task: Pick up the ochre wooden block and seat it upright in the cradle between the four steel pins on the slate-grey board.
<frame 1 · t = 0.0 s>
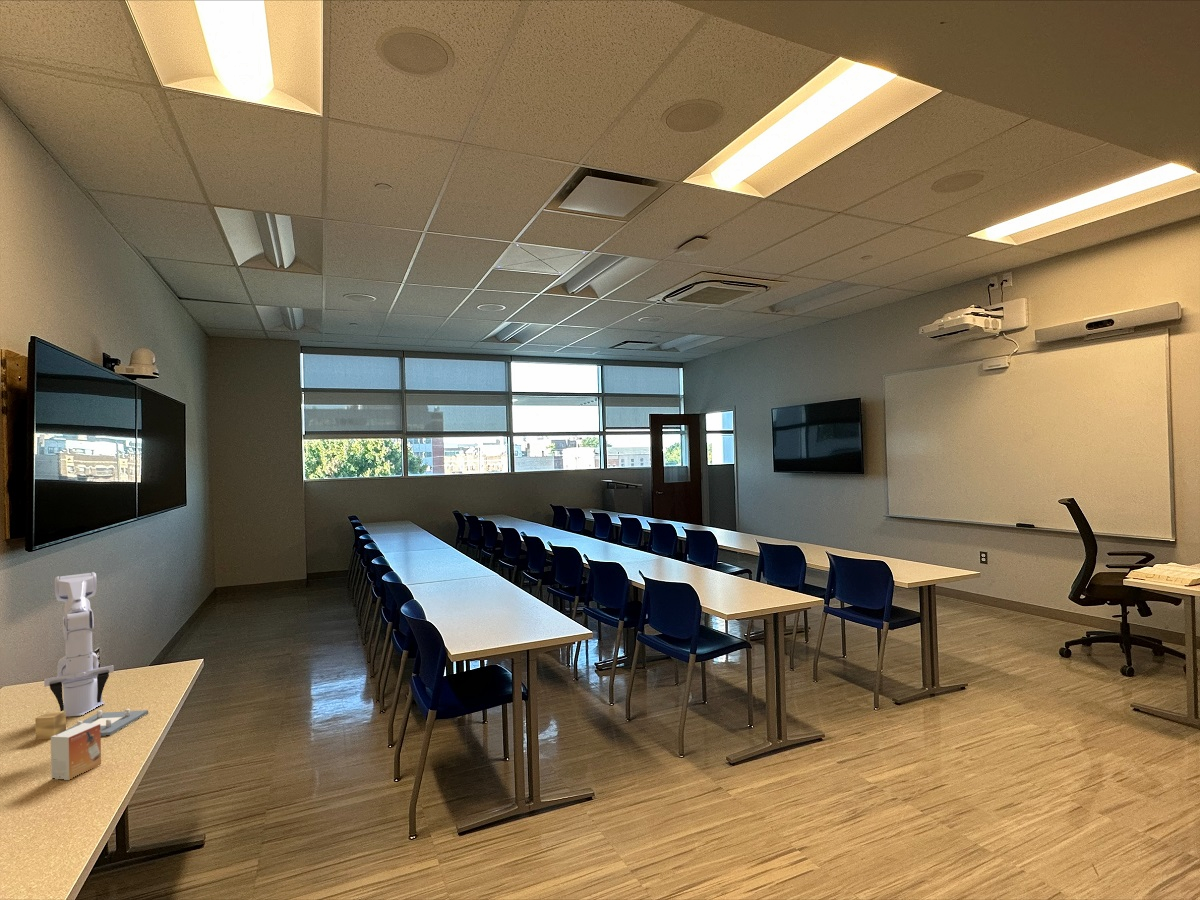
hand: (80, 706, 165), 11 cm above the table, tool pointing down, fingers open, 7 cm apart
pin board: (104, 725, 177), on the table
ochre block: (51, 735, 171), on the table
small box: (77, 772, 149), on the table
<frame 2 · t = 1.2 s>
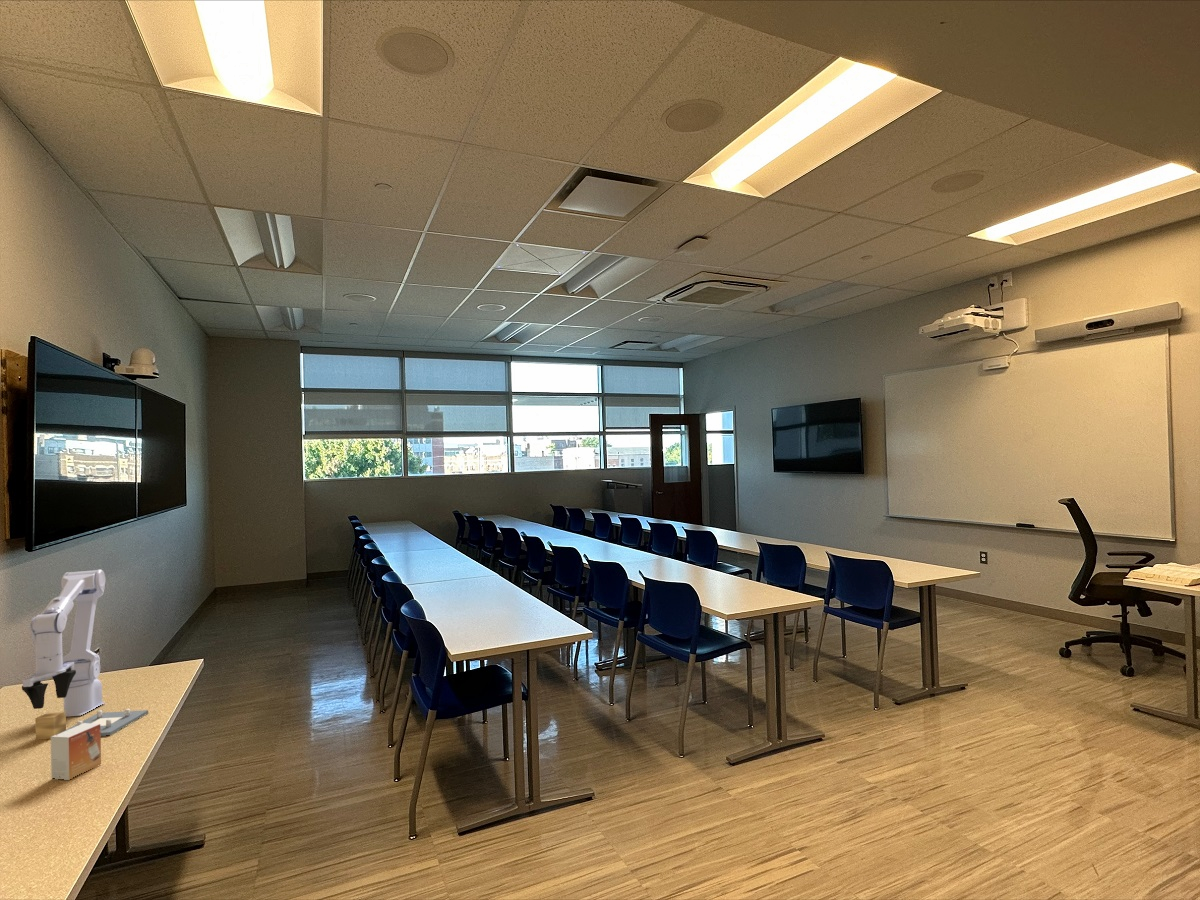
hand: (50, 702, 172), 9 cm above the table, tool pointing down, fingers open, 7 cm apart
nothing on the table moved.
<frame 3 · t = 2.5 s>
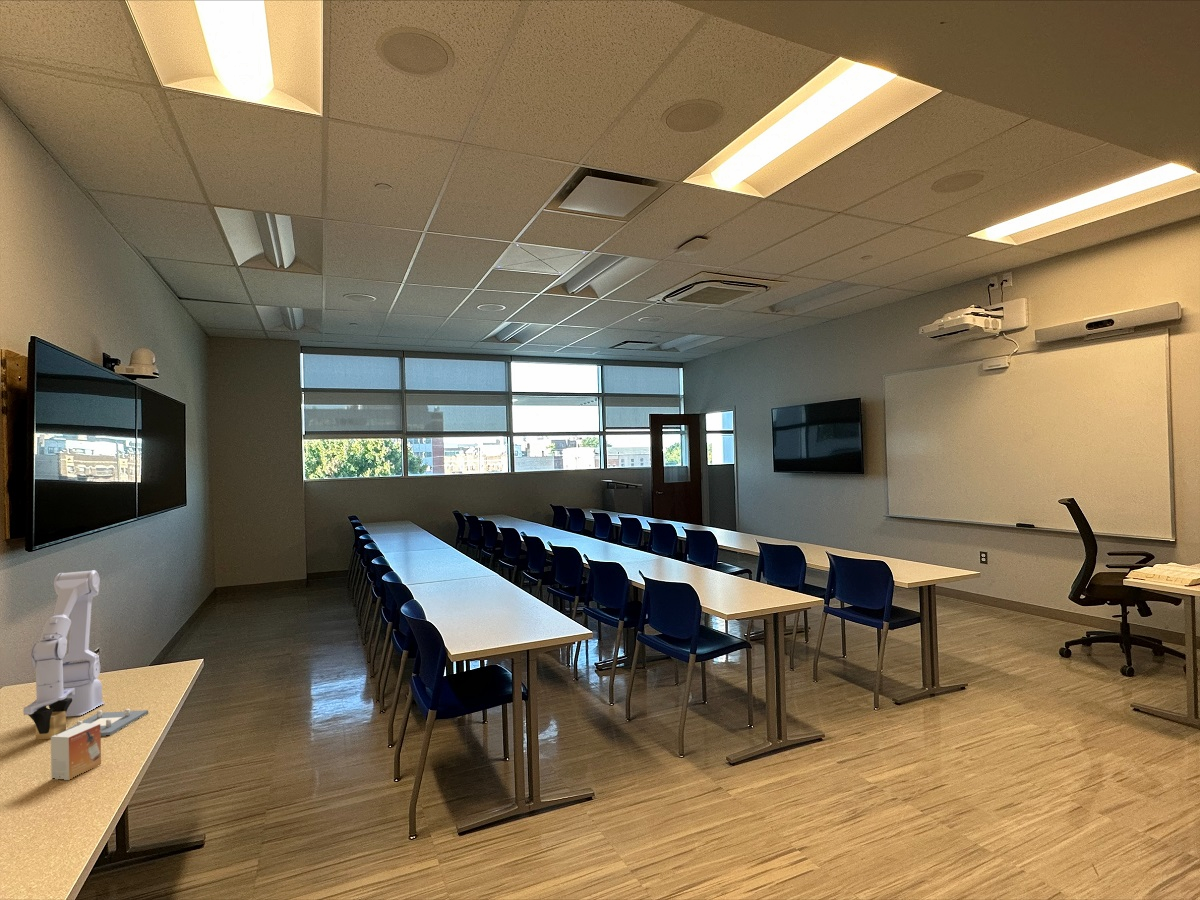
hand: (51, 729, 171), 2 cm above the table, tool pointing down, fingers closed on ochre block, 4 cm apart
ochre block: (51, 735, 171), on the table, touching gripper
everything else where it was.
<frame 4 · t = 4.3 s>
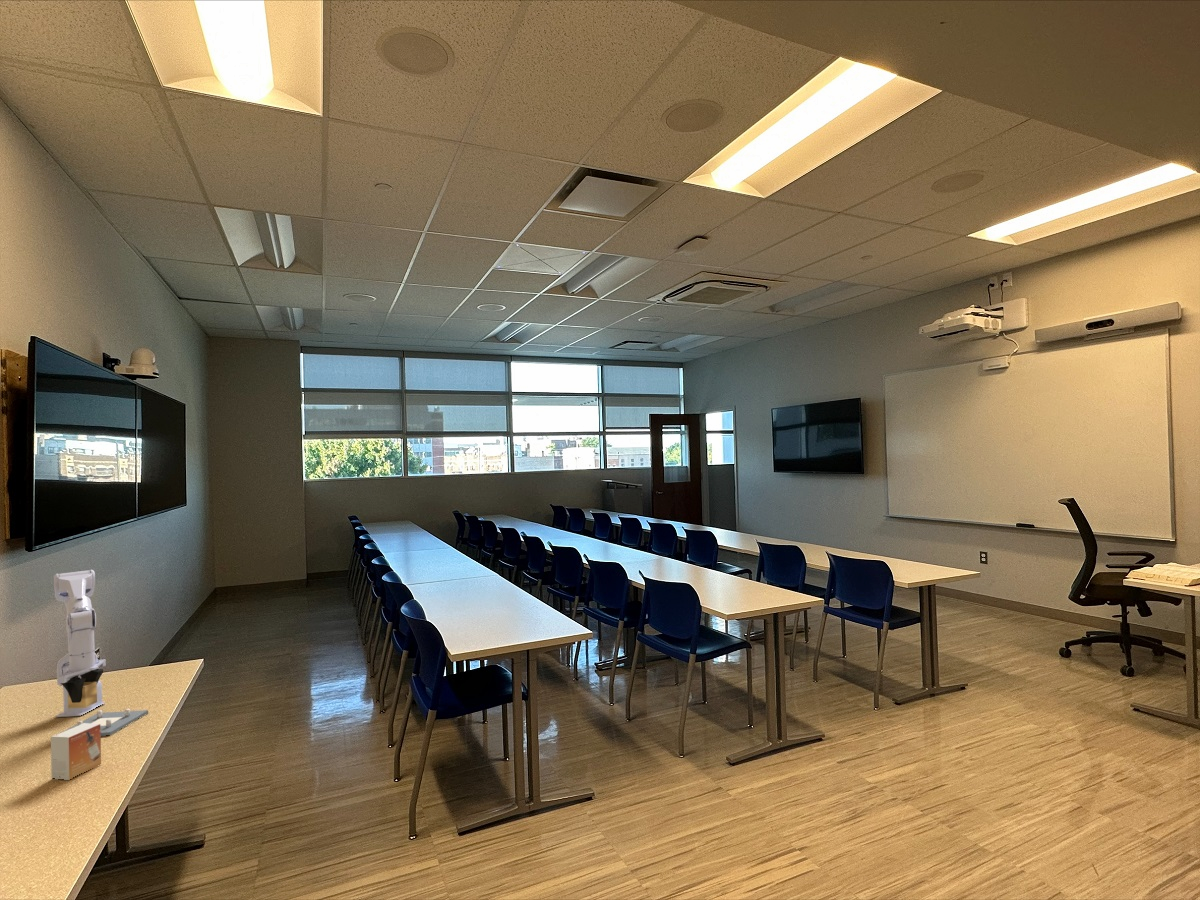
hand: (83, 699, 175), 9 cm above the table, tool pointing down, fingers closed on ochre block, 4 cm apart
ochre block: (82, 705, 175), point 7 cm above the table, touching gripper
everything else where it was.
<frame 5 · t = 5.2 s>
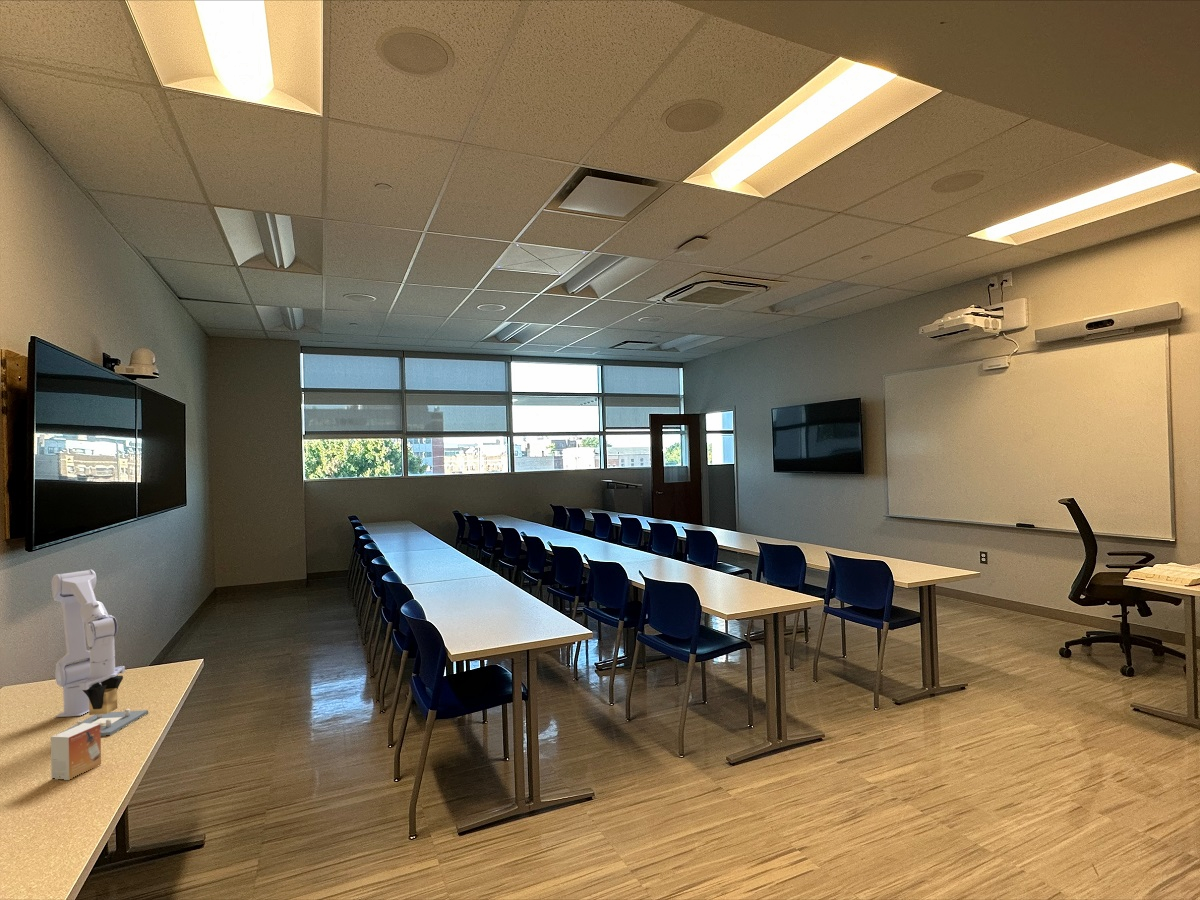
hand: (103, 705, 177), 6 cm above the table, tool pointing down, fingers closed on ochre block, 4 cm apart
ochre block: (103, 711, 177), point 4 cm above the table, touching gripper
everything else where it was.
when the fingers open (4 cm above the table, at t = 6.0 s): ochre block drops 1 cm, resting on pin board.
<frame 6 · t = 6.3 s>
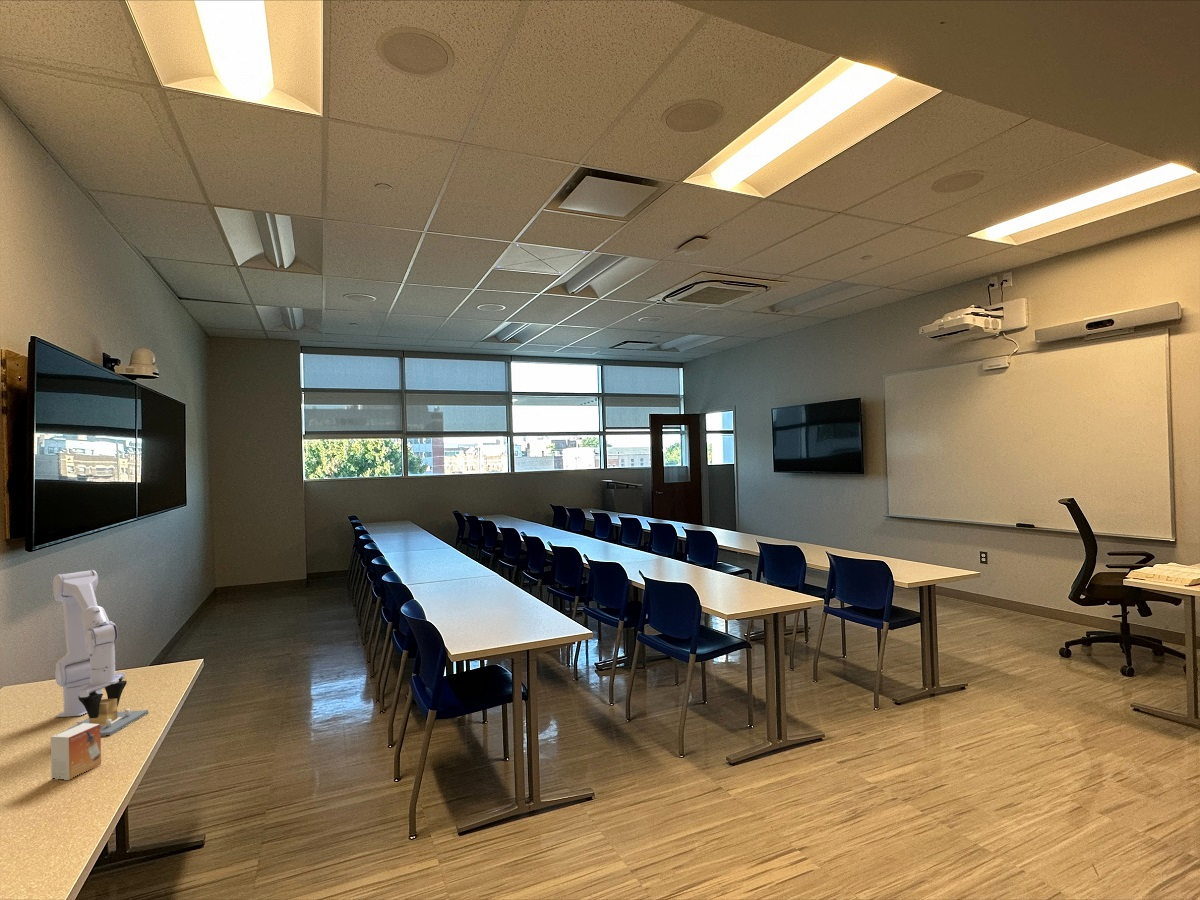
hand: (103, 712, 177), 4 cm above the table, tool pointing down, fingers open, 7 cm apart
ochre block: (103, 721, 177), point 1 cm above the table, touching pin board
everything else where it was.
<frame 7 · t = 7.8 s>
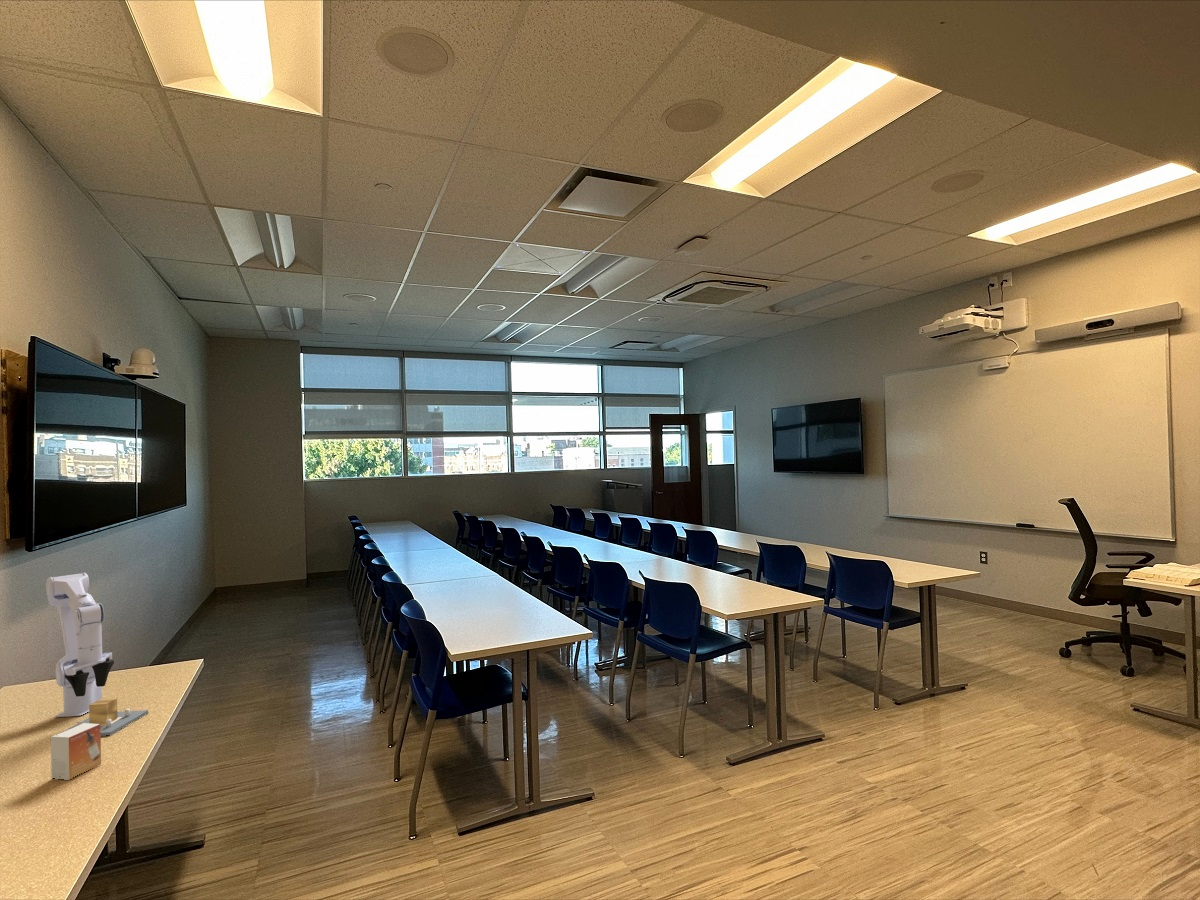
hand: (90, 690, 180), 9 cm above the table, tool pointing down, fingers open, 7 cm apart
nothing on the table moved.
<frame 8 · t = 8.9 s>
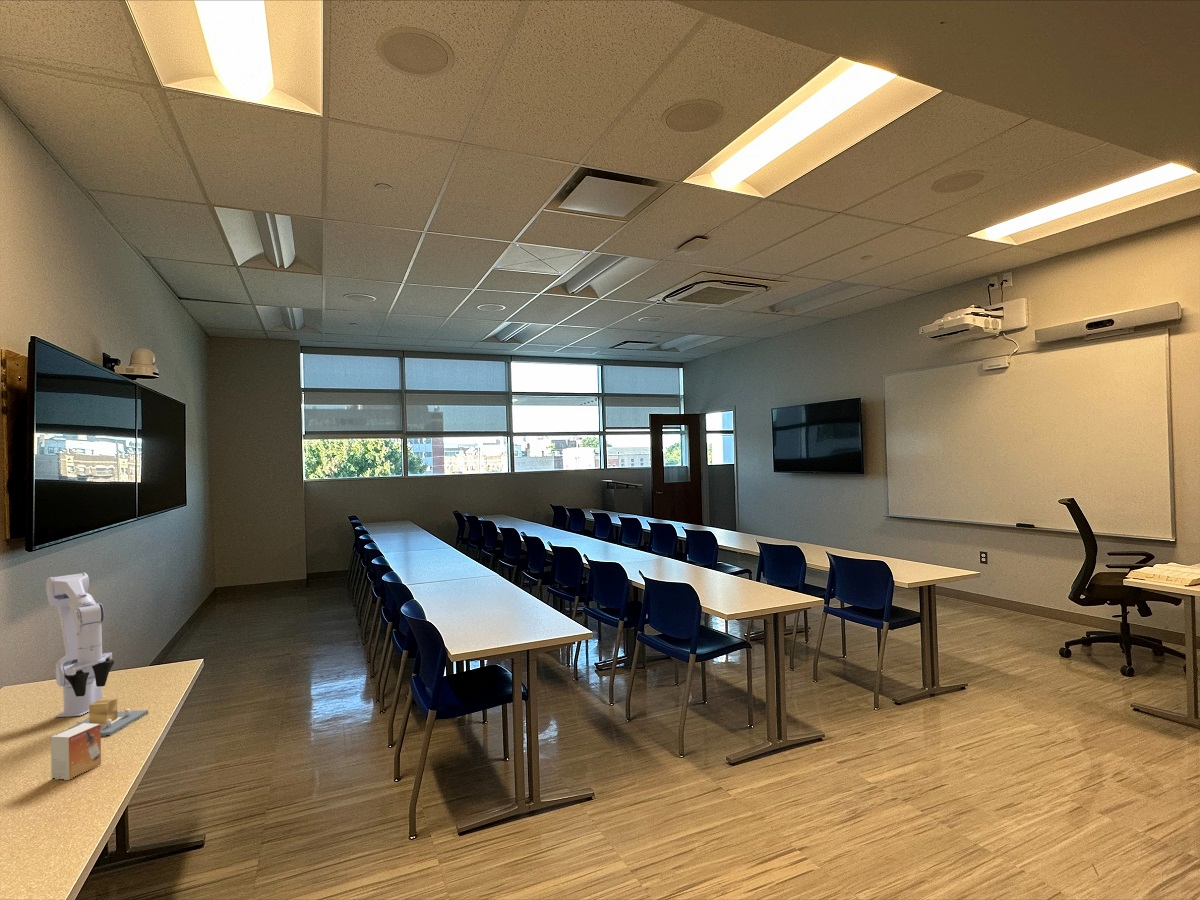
hand: (90, 690, 180), 9 cm above the table, tool pointing down, fingers open, 7 cm apart
nothing on the table moved.
at the end: ochre block 0.1 cm off-centre on the pin board, point 1.1 cm above the pin board's base; ochre block tilted 0°; the gripper is holding nothing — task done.
